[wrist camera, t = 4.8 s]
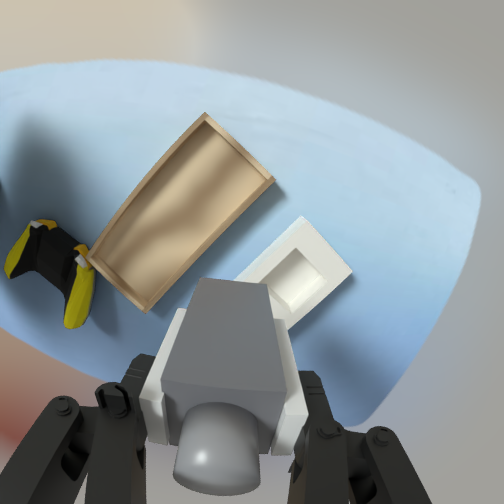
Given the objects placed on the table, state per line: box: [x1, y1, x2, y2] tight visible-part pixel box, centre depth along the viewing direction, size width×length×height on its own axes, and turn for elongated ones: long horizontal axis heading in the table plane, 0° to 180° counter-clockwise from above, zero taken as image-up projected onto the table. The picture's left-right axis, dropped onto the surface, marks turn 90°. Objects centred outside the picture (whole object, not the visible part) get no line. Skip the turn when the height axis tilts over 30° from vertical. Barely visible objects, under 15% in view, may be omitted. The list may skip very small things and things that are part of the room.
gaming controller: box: [4, 219, 96, 329], centre depth 28 cm, size 15×6×10 cm
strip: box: [233, 216, 353, 330], centre depth 32 cm, size 8×28×4 cm, turn 135°
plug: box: [160, 277, 287, 496], centre depth 11 cm, size 4×4×12 cm
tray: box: [85, 112, 276, 314], centre depth 29 cm, size 10×21×2 cm, turn 135°
